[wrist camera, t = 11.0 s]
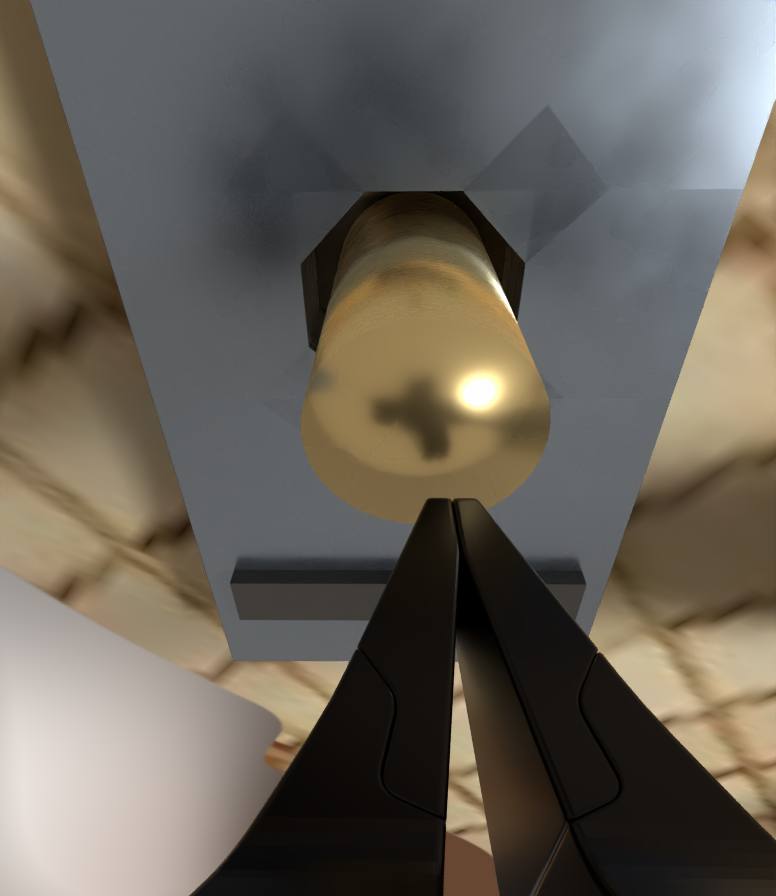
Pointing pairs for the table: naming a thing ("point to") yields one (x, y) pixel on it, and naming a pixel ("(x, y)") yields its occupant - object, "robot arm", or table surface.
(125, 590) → the table surface
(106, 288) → the table surface
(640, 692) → the table surface
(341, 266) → the cylinder
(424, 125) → the jig
